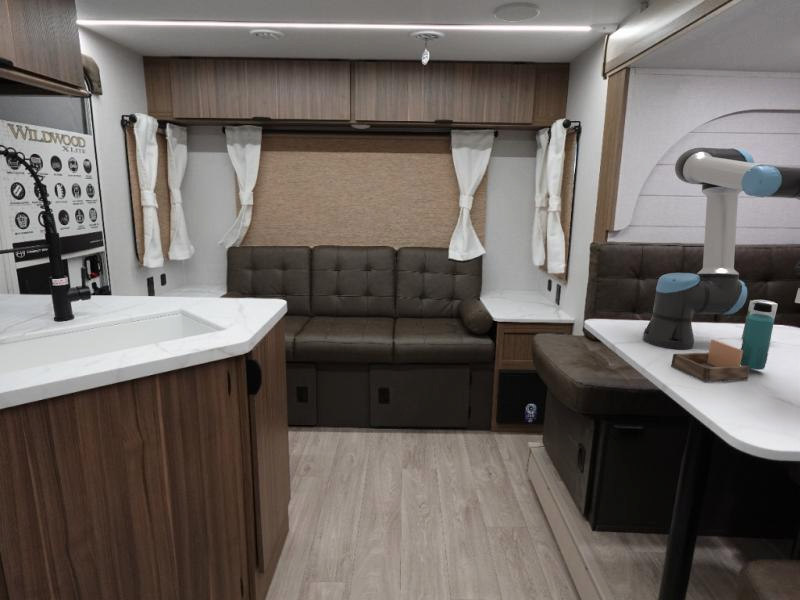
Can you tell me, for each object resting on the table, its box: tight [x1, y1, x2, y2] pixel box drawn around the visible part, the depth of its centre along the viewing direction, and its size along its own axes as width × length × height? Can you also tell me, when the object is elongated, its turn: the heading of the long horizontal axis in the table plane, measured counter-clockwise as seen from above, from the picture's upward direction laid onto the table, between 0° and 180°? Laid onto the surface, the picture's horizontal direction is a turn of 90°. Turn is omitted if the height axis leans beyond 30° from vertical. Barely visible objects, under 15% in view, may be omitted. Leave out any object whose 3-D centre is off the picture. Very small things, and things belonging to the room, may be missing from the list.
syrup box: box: [741, 299, 778, 341], centre depth 168 cm, size 6×6×14 cm
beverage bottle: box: [740, 302, 775, 371], centre depth 138 cm, size 6×7×20 cm
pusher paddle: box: [707, 339, 743, 367], centre depth 137 cm, size 1×9×7 cm, turn 13°
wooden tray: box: [670, 351, 751, 383], centre depth 137 cm, size 14×12×4 cm
